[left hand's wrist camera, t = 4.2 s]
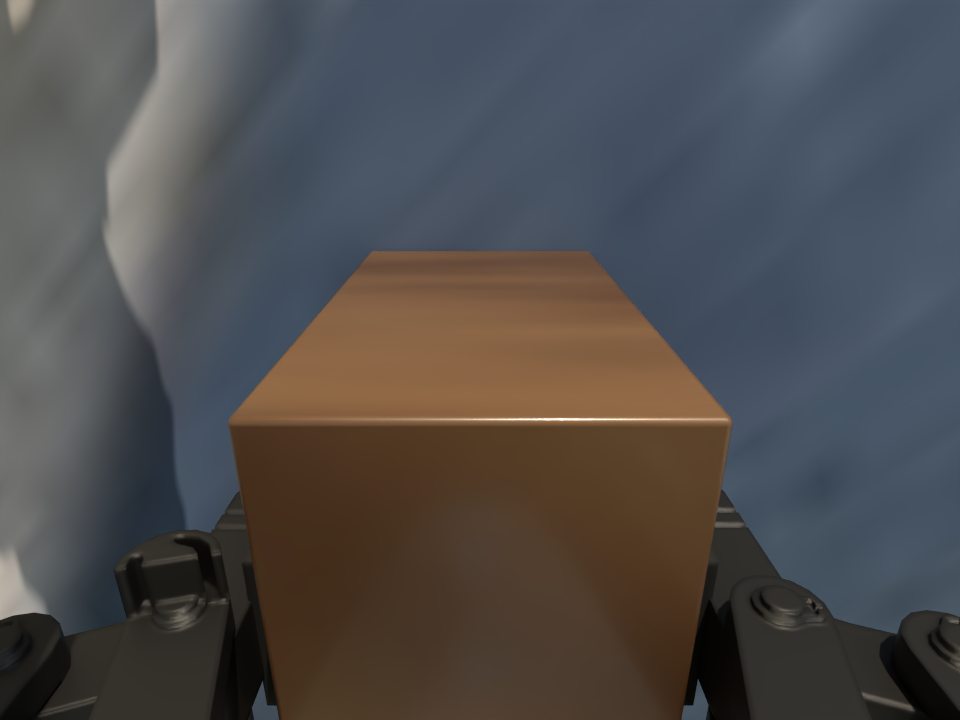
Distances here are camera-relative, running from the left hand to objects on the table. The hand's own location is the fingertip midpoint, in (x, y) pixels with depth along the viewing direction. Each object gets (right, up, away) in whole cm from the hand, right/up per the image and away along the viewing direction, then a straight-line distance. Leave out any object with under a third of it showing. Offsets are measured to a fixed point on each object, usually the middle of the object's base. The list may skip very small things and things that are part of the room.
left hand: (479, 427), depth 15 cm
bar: (0, -21, +9) cm, 23 cm away
